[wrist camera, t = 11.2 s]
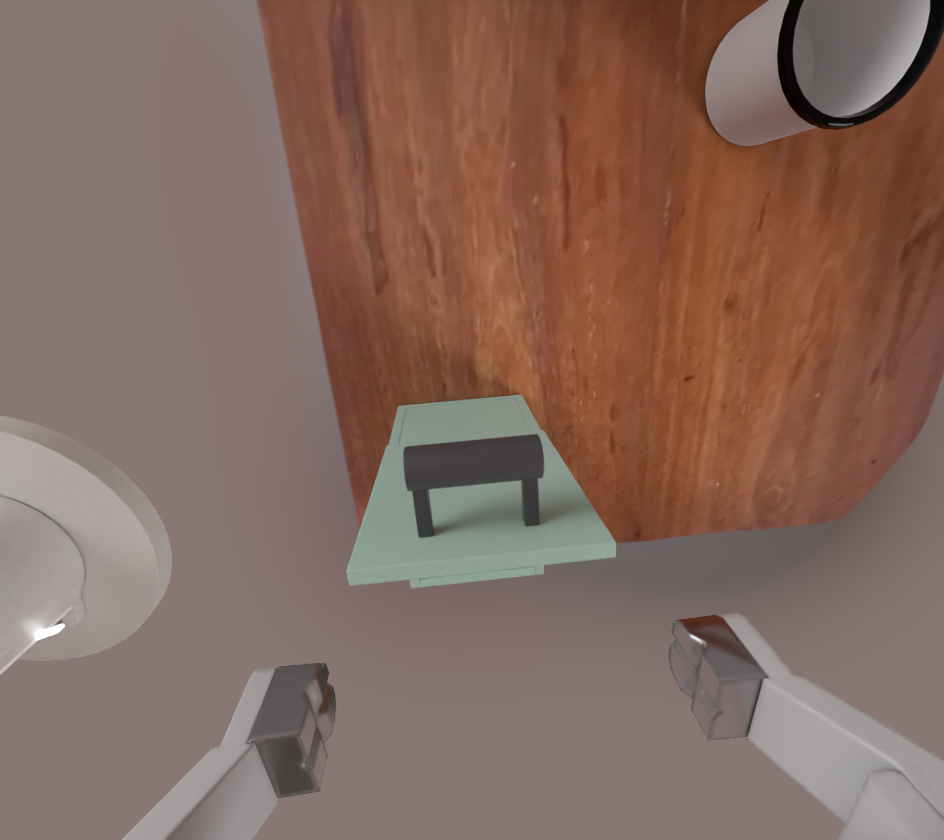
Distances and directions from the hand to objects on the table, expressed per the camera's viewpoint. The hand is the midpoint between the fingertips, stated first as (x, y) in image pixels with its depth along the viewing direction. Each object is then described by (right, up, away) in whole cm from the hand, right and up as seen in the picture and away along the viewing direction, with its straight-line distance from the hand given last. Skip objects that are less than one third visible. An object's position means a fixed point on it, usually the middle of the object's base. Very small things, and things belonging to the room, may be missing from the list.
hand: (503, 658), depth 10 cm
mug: (+22, +31, +22) cm, 44 cm away
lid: (-1, +1, +15) cm, 15 cm away
